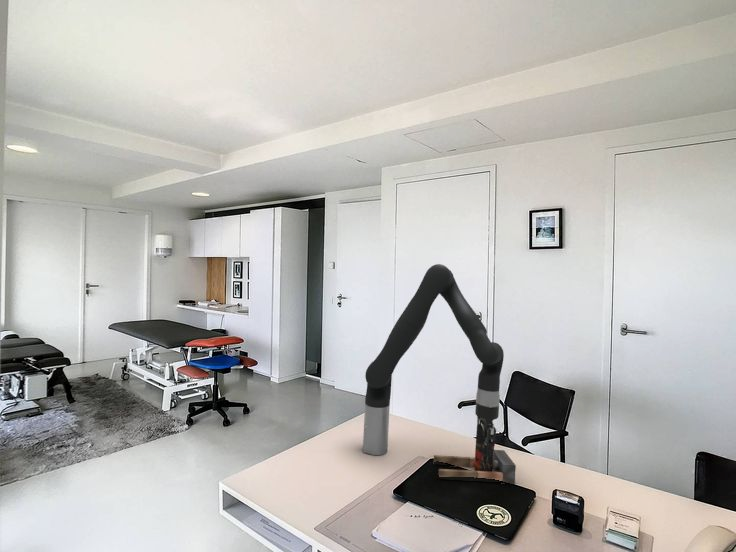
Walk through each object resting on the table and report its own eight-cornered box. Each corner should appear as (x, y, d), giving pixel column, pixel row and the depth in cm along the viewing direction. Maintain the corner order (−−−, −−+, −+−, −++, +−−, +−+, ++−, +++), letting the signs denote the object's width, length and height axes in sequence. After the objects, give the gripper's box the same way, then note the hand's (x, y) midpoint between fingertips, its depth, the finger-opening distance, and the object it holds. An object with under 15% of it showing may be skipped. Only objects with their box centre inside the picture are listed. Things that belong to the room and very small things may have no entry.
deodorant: (494, 476, 130) (497, 430, 130) (476, 474, 131) (479, 429, 131) (489, 467, 136) (492, 424, 136) (472, 466, 136) (475, 422, 136)
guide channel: (438, 479, 128) (439, 461, 128) (433, 463, 139) (434, 446, 139) (514, 484, 128) (515, 465, 128) (503, 467, 139) (504, 450, 139)
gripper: (471, 395, 141) (468, 442, 141) (482, 408, 126) (479, 461, 126) (492, 396, 141) (489, 443, 141) (505, 410, 126) (502, 462, 126)
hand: (484, 451), depth 133 cm, fingers closed on deodorant, 6 cm apart
